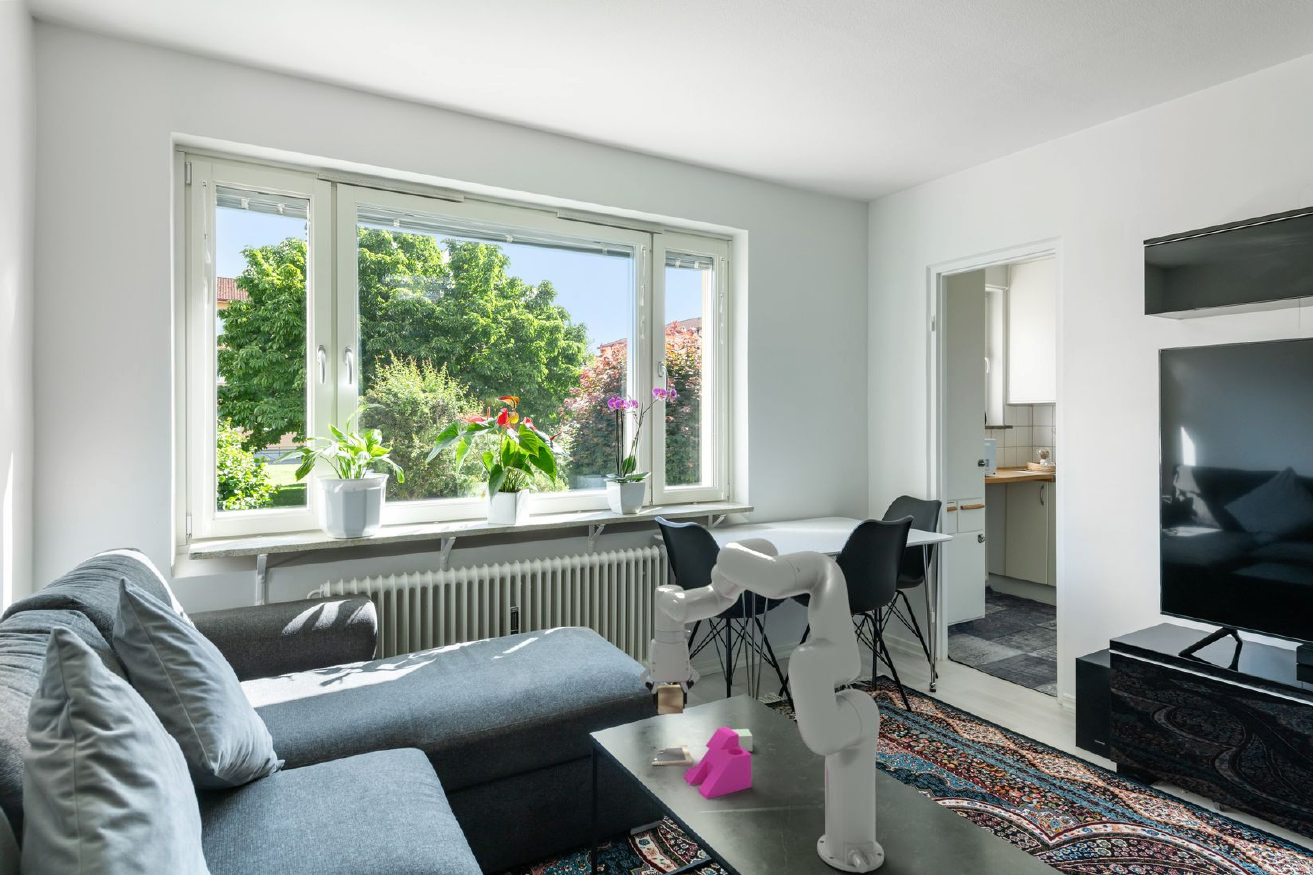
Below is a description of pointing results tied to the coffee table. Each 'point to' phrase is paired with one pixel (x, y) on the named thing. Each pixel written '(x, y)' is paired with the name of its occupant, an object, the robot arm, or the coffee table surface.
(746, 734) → the sage cube
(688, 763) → the birch board
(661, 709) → the oak block
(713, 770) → the bracket
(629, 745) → the coffee table surface
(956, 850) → the coffee table surface
